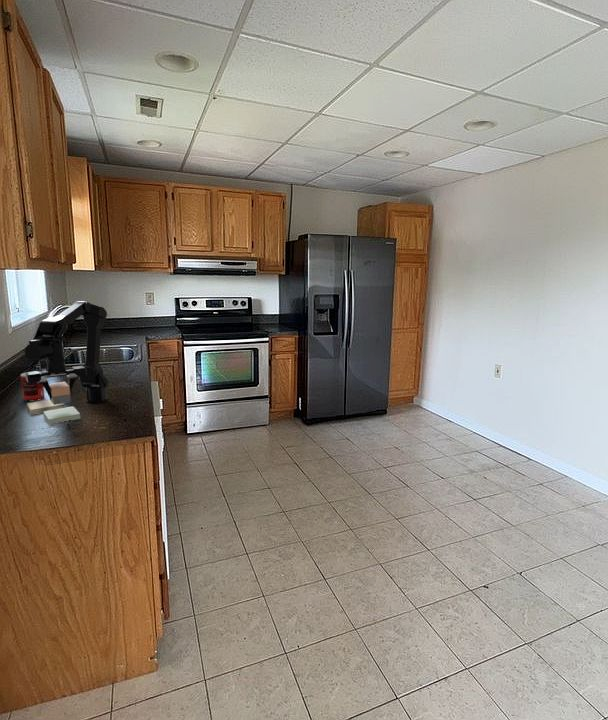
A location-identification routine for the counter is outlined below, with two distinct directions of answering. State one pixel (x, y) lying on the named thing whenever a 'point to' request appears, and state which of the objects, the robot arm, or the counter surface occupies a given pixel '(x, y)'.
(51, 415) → the stand
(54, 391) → the housing cover
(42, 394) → the canned food
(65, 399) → the housing base
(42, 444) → the counter surface
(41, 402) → the stand
